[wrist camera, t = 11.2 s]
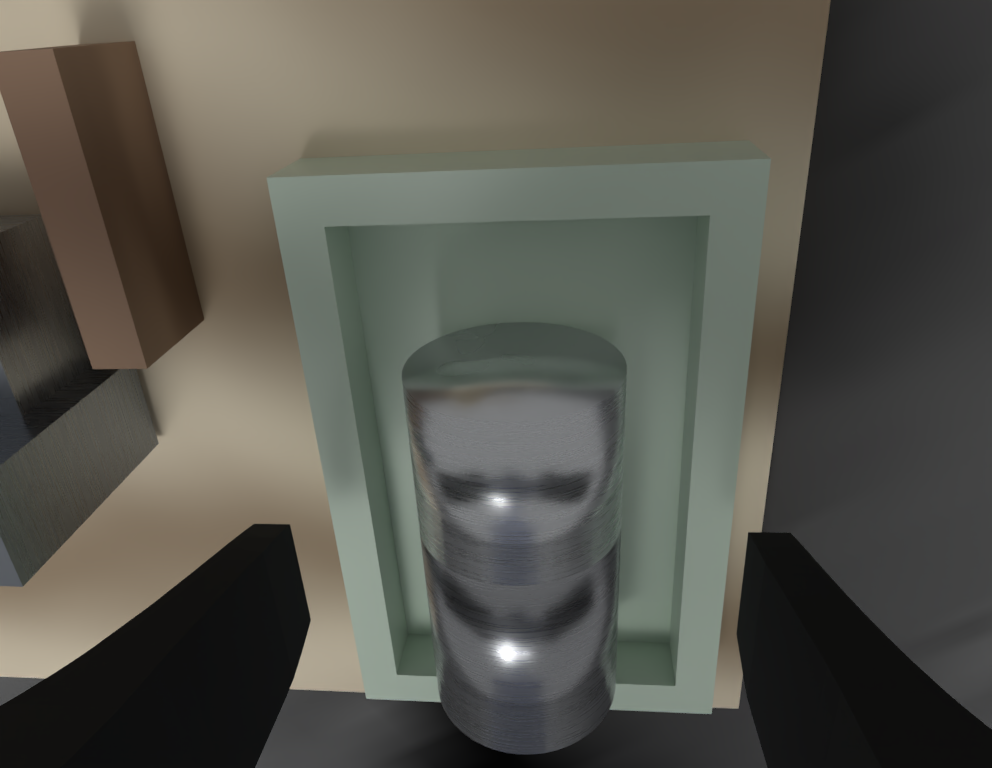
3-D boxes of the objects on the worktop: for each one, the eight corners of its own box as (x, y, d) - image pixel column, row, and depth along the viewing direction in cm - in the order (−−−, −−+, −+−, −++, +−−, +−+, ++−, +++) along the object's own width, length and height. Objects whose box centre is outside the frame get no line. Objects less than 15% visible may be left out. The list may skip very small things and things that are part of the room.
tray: (700, 656, 17) (711, 714, 16) (382, 644, 18) (366, 698, 17) (749, 140, 12) (771, 158, 11) (300, 158, 13) (266, 177, 12)
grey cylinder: (613, 614, 17) (618, 761, 13) (453, 608, 17) (421, 748, 14) (622, 322, 13) (632, 422, 10) (425, 322, 14) (376, 419, 11)
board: (730, 675, 19) (738, 708, 18) (7, 647, 21) (-19, 675, 20) (872, -505, 10) (902, -557, 9) (-461, -328, 12) (-546, -354, 11)
